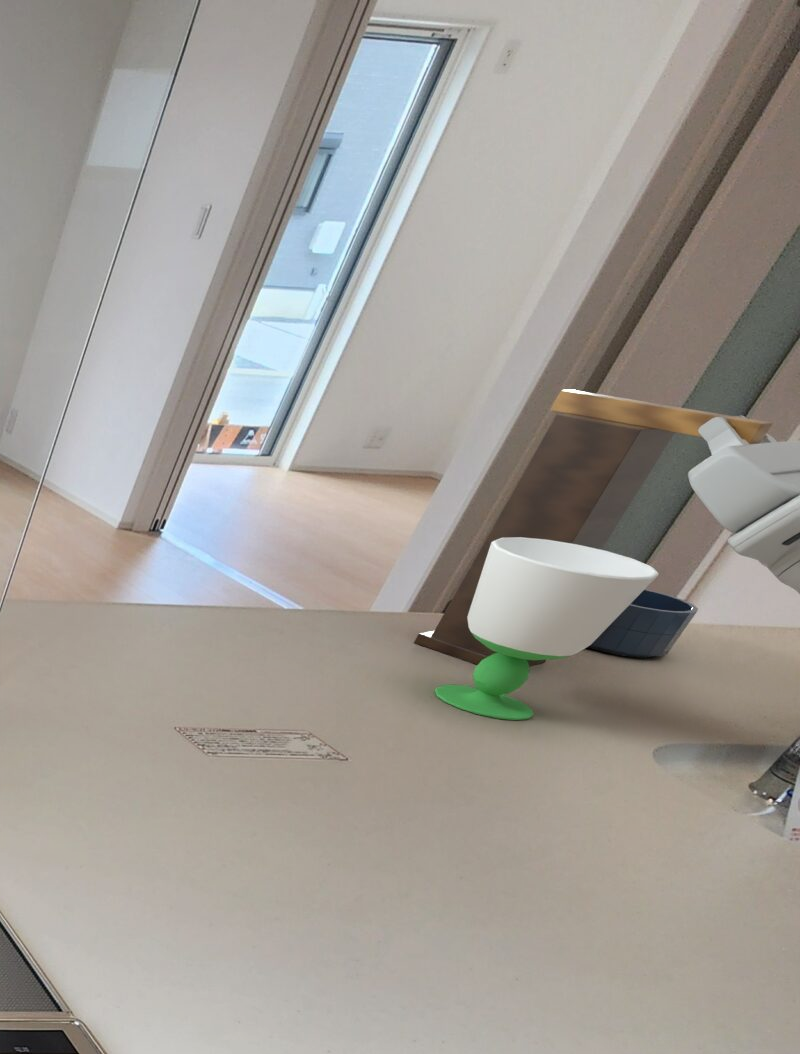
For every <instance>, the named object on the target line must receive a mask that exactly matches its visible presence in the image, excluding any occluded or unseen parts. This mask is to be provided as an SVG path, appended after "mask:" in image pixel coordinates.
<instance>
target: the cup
mask: <svg viewBox="0 0 800 1054" xmlns="http://www.w3.org/2000/svg"><path fill="white" fill-rule="evenodd" d="M658 576H659V572H658V571H657V570H656V569H655V568H654V567H653V566H652V565H649V564H646V563H644V562H642V561H639V560H637V559H634V558H632V557H629V556H625V555H621V554H619V553H615V552H612V551H608V550H604V549H601V550H600V549H595V548H591V547H586V546H582V545H577V544H571V543H565V542H558V541H552V540H545V539H534V538H523V537H511V538H500V539H497V540H495V541H493V542H491V545H490V548H489V551H488V554H487V557H486V561H485V564H484V567H483V570H482V573H481V576H480V579H479V582H478V585H477V588H476V592H475V595H474V598H473V601H472V604H471V607H470V610H469V613H468V616H467V619H468V626H469V629H470V631H471V633H472V634H473V636H474V637H475V638H476V639H477V640H478V641H480V642H481V643H482V644H484V645H485V646H486V647H488V648H489V649H491V650H493V651H495V652H498V653H494V654H492V655H490V656H488V657H487V658H485V659H483V660H482V661H481V662H480V663H479V664H478V665H477V664H476V666H475V668H474V670H473V673H472V678H473V679H472V680H473V684H474V686H475V687H474V686H469V685H461V684H445V685H439V686H438V687H436V688H435V689H434V692H435V696H436V697H437V698H439V699H440V700H441V701H443V702H444V703H446V704H448V705H451V706H452V707H454V708H456V709H459V710H463V711H465V712H469V713H472V714H475V715H478V716H483V717H487V718H493V719H497V720H507V721H525V720H526V721H527V720H530V719H531V718H532V717H533V716H534V715H535V713H534V712H533V710H532V708H531V707H530V706H529V705H526V704H525V703H524V702H522V701H520V700H518V699H515V698H513V697H510V696H508V694H510V693H512V692H514V691H516V690H518V689H520V688H521V687H522V686H523V684H525V683H526V682H527V680H528V677H529V675H530V670H531V669H530V666H529V664H528V662H527V660H546V659H547V660H556V659H557V660H558V659H565V658H568V657H571V656H574V655H576V654H578V653H580V652H582V651H583V650H585V649H586V648H587V649H588V646H590V645H591V644H592V643H593V642H594V641H595V640H596V639H597V638H598V637H599V636H600V635H601V634H602V633H603V632H604V631H605V630H606V629H607V628H608V627H609V625H610V624H611V623H612V622H613V621H614V620H615V619H616V618H617V617H618V616H619V615H620V614H621V613H622V612H623V611H624V610H625V609H626V608H627V607H628V606H629V605H630V604H631V603H632V602H633V601H634V600H635V599H636V598H637V597H638V596H639V595H640V594H641V593H642V592H643V590H644V589H647V587H648V586H650V584H652V583H653V581H654V580H655V579H656V578H657V577H658ZM547 660H546V661H547Z"/></svg>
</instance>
